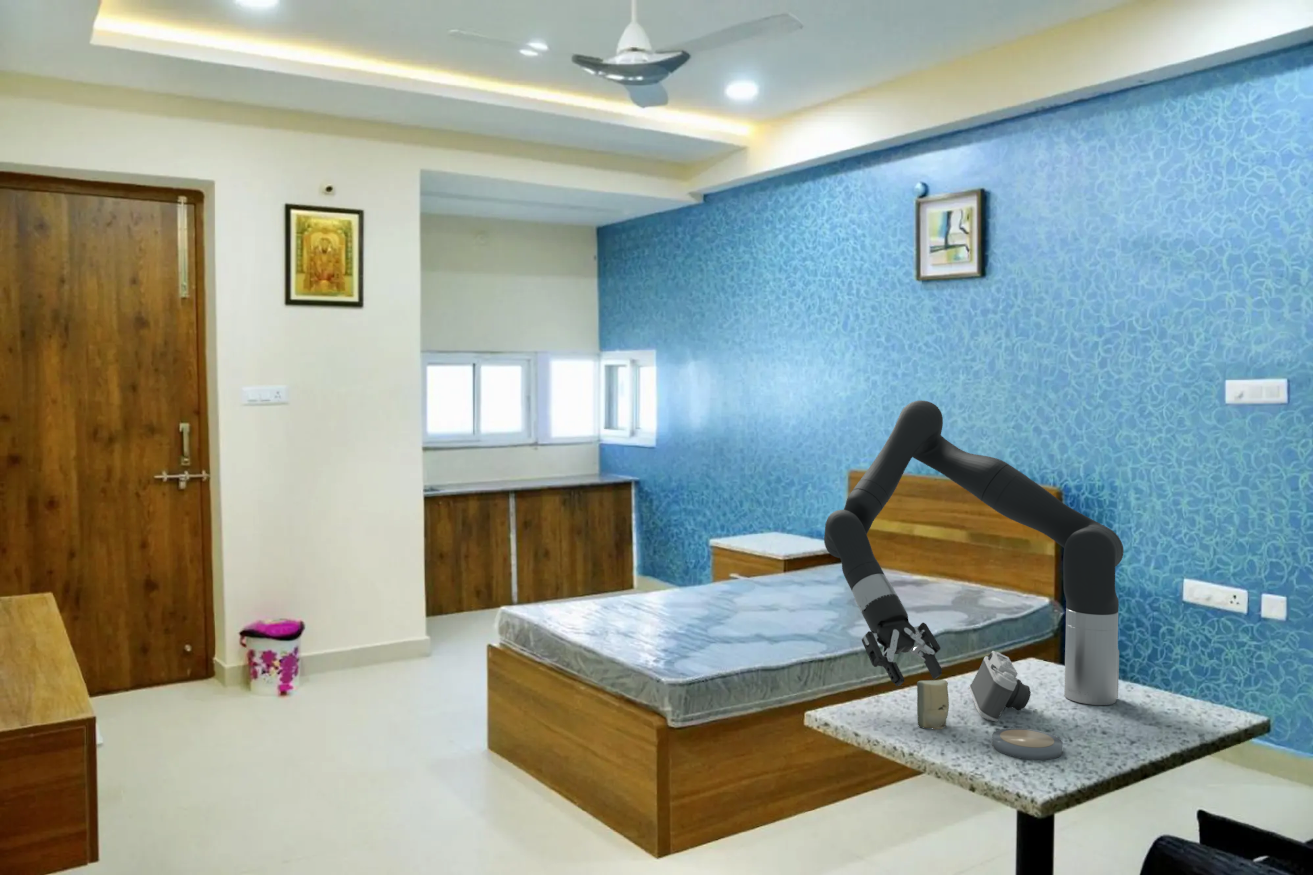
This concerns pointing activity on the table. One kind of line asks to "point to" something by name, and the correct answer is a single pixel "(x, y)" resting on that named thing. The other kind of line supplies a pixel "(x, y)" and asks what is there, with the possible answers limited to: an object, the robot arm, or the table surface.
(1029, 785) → the table surface
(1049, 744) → the coaster
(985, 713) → the camera
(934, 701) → the off-white rounded piece
